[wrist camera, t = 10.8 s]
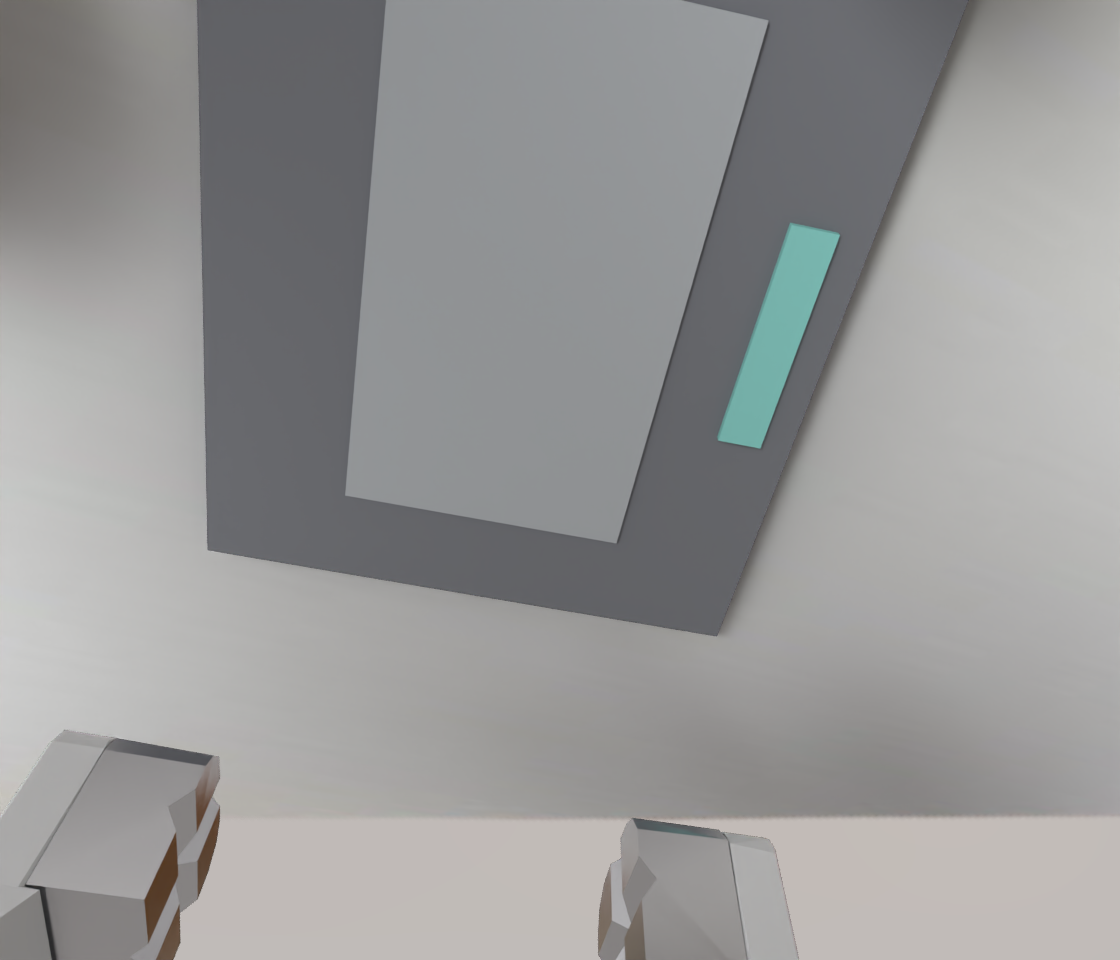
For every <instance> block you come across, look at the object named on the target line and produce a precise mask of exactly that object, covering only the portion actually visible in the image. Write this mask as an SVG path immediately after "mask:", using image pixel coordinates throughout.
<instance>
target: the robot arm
mask: <svg viewBox="0 0 1120 960" xmlns="http://www.w3.org/2000/svg"><path fill="white" fill-rule="evenodd" d="M219 779H220V767H219V756H213V755H208V754H202V753H197V752H191V751H185V750H180V749H174V748H169V747H163V746H157V745H152V744H146V743H141V742H135V741H129V740H124V739H118V738H113V737H107V736H101V735H94V734H88V733H82V732H76V731H69V730H64V731H63V732H62V733H60V734H59V735H58V736H57V737H56V738H55V739H53V740H52V741H51V742H50V743H49V744H48V745H47V747H46V748H45V750H44V751H43V753H42V754H41V756H40V757H39V759H38V760H37V762H36V764H35V765H34V767H33V768H32V770H31V771H30V773H29V774H28V776H27V777H26V779H25V780H24V782H23V783H22V785H21V786H20V788H19V789H18V791H17V792H16V794H15V795H14V797H13V798H12V800H11V801H10V803H9V804H8V806H7V807H6V809H5V810H4V812H3V813H2V815H1V816H0V960H173V959H174V957H175V954H176V952H177V949H178V947H179V944H180V912H182V911H183V910H184V909H186V908H187V907H188V906H190V905H191V904H192V903H193V902H194V901H196V900H197V899H198V897H199V894H200V892H201V889H202V887H203V884H204V881H205V879H206V876H207V874H208V871H209V867H210V864H211V860H212V856H213V853H214V849H215V846H216V842H217V836H218V828H219V822H220V805H219V804H218V803H217V802H216V801H215V800H214V799H213V798H212V795H213V793H214V791H215V788H216V786H217V784H218V781H219ZM598 955H599V957H600V958H601V960H799V957H798V952H797V947H796V943H795V938H794V934H793V929H792V925H791V920H790V916H789V911H788V906H787V902H786V897H785V892H784V888H783V883H782V878H781V874H780V869H779V865H778V860H777V856H776V851H775V848H774V846H773V845H772V844H771V842H770V840H769V839H766V838H762V837H755V836H748V835H741V834H734V833H727V832H720V831H719V830H716V829H709V828H701V827H694V826H687V825H680V824H673V823H665V822H658V821H651V820H644V819H636V818H632V819H631V820H630V821H629V822H628V823H627V824H626V827H625V829H624V832H623V834H622V837H621V858H620V859H619V860H617V861H615V862H613V863H612V864H611V865H610V868H609V871H608V874H607V877H606V879H605V883H604V887H603V892H602V898H601V904H600V910H599V928H598Z"/></svg>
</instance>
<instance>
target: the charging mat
mask: <svg viewBox="0 0 1120 960" xmlns="http://www.w3.org/2000/svg"><path fill="white" fill-rule="evenodd" d="M968 1H969V0H197V17H198V69H199V122H200V175H201V227H202V280H203V333H204V385H205V438H206V491H207V543H208V550H210V551H216V552H221V553H227V554H233V555H239V556H245V557H251V558H257V559H263V560H269V561H275V562H280V563H286V564H292V565H298V566H304V567H310V568H316V569H322V570H328V571H334V572H340V573H345V574H351V575H357V576H363V577H369V578H375V579H381V580H387V581H393V582H399V583H404V584H410V585H416V586H422V587H428V588H434V589H440V590H446V591H452V592H458V593H464V594H469V595H475V596H481V597H487V598H493V599H499V600H505V601H511V602H517V603H523V604H528V605H534V606H540V607H546V608H552V609H558V610H564V611H570V612H576V613H582V614H587V615H593V616H599V617H605V618H611V619H617V620H623V621H629V622H635V623H641V624H647V625H652V626H658V627H664V628H670V629H676V630H682V631H688V632H694V633H700V634H706V635H711V636H717V635H718V633H719V630H720V627H721V625H722V622H723V620H724V617H725V615H726V612H727V610H728V607H729V605H730V602H731V600H732V597H733V595H734V592H735V590H736V587H737V585H738V582H739V579H740V577H741V574H742V572H743V569H744V567H745V564H746V562H747V559H748V557H749V554H750V552H751V549H752V547H753V544H754V542H755V539H756V536H757V534H758V531H759V529H760V526H761V524H762V521H763V519H764V516H765V514H766V511H767V509H768V506H769V504H770V501H771V499H772V496H773V494H774V491H775V488H776V486H777V483H778V481H779V478H780V476H781V473H782V471H783V468H784V466H785V463H786V461H787V458H788V456H789V453H790V451H791V448H792V445H793V443H794V440H795V438H796V435H797V433H798V430H799V428H800V425H801V423H802V420H803V418H804V415H805V413H806V410H807V408H808V405H809V403H810V400H811V397H812V395H813V392H814V390H815V387H816V385H817V382H818V380H819V377H820V375H821V372H822V370H823V367H824V365H825V362H826V360H827V357H828V355H829V352H830V349H831V347H832V344H833V342H834V339H835V337H836V334H837V332H838V329H839V327H840V324H841V322H842V319H843V317H844V314H845V312H846V309H847V306H848V304H849V301H850V299H851V296H852V294H853V291H854V289H855V286H856V284H857V281H858V279H859V276H860V274H861V271H862V269H863V266H864V264H865V261H866V258H867V256H868V253H869V251H870V248H871V246H872V243H873V241H874V238H875V236H876V233H877V231H878V228H879V226H880V223H881V221H882V218H883V216H884V213H885V210H886V208H887V205H888V203H889V200H890V198H891V195H892V193H893V190H894V188H895V185H896V183H897V180H898V178H899V175H900V173H901V170H902V167H903V165H904V162H905V160H906V157H907V155H908V152H909V150H910V147H911V145H912V142H913V140H914V137H915V135H916V132H917V130H918V127H919V125H920V122H921V119H922V117H923V114H924V112H925V109H926V107H927V104H928V102H929V99H930V97H931V94H932V92H933V89H934V87H935V84H936V82H937V79H938V77H939V74H940V71H941V69H942V66H943V64H944V61H945V59H946V56H947V54H948V51H949V49H950V46H951V44H952V41H953V39H954V36H955V34H956V31H957V28H958V26H959V23H960V21H961V18H962V16H963V13H964V11H965V8H966V6H967V3H968Z"/></svg>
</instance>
